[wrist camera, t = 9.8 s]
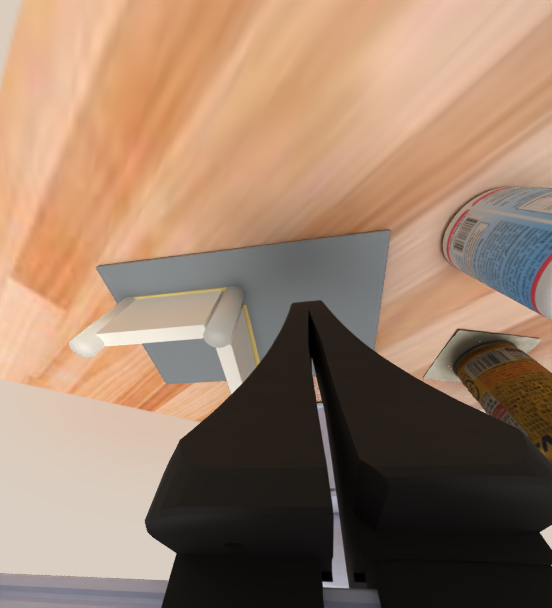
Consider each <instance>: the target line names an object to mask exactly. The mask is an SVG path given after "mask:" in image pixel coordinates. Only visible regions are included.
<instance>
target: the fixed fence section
mask: <svg viewBox="0 0 552 608" xmlns="http://www.w3.org/2000/svg"><path fill="white" fill-rule="evenodd" d="M244 297H245V293H244V291H243V290H242V289H241V288H240V287H238V286H235V285H232V286H229V287H228V288H227V289H226V290H225V292H224V294H223V291H222V290H219V291H209V292H200V293H190V294H181V295H171V296H161V297H152V298H142V299H135V298H133V297H126V298H125V299H123V300H122V301H121V302H119V303H118V304H117V305H116V306H114V307H113V308H112V309H110V310H109V311H108V312H107V313H105V314H104V315H103V316H102V317H100V318H99V319H98V320H96V321H95V322H94V323H93V324H91V325H90V326H89V327H87V328H86V329H85V330H84V331H82V332H81V333H80V334H79V335H77V336H76V337H75V338H73V339H72V340H71V341H70V342H69V346H70V348H71V349H72V351H74V352H75V353H76V354H78V355H80V356H82V357H87V358H91V357H94V356H95V355H96V354H97V353H98V352H99V351H100V350H101V349H102V348H103V347H105V346H116V345H128V344H140V343H153V342H165V341H177V340H190V339H202V338H204V340H205V342H206V343H207V344H208V345H210V346H212V347H216V348H222V347H225V346H227V345H228V344H229V342H230V339H231V336H232V333H233V330H234V327H235V324H236V321H237V318H238V315H239V312H240V309H241V306H242V303H243V300H244Z"/></svg>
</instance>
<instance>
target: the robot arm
mask: <svg viewBox="0 0 552 608" xmlns="http://www.w3.org/2000/svg"><path fill="white" fill-rule="evenodd" d="M312 360H313V365H314V369H315V373H316V377H317V382H318V386H319V390H320V394H321V398H322V403H317V402H316V396H315V389H314V383H313V376H312ZM145 524H146V528H147V532H148V533H149V534H150V535H151V536H152V537H153V538H155V539H156V540H158V541H159V542H161V543H162V544H164V545H165V546H167V547H168V548H170V549H171V550H173V551H174V552H176V553H177V554H176V557H175V561H174V564H173V568H172V572H171V575H170V579H169V581H167V580H144V579H143V580H142V579H120V578H97V577H73V576H50V575H26V574H4V573H0V608H552V566H551V565H552V550H551V548H550V547H549V545H548V544H547V543H546V541H545V540H544V538H543V537H542V535H541V534H540V533H539V532H541V531H542V530H544V529H546V528H547V527H549V526H550V525H552V463H551V462H550V461H549V460H548V459H547V458H546V457H545V455H544V454H543V453H542V452H541V451H540V450H539V449H538V448H537V447H536V446H535V445H534V444H533V443H532V442H531V441H530V440H529V439H528V438H527V437H526V436H525V435H524V434H523V433H522V432H521V431H520V430H519V429H518V428H516V427H514V426H512V425H510V424H507V423H505V422H503V421H501V420H499V419H497V418H495V417H492V416H490V415H488V414H486V413H484V412H482V411H480V410H477V409H475V408H473V407H471V406H469V405H467V404H465V403H462V402H460V401H458V400H456V399H454V398H452V397H450V396H449V395H447V394H445V393H443V392H441V391H439V390H437V389H435V388H433V387H431V386H430V385H428V384H426V383H424V382H422V381H421V380H419V379H417V378H415V377H414V376H412V375H410V374H409V373H407V372H405V371H404V370H402V369H400V368H399V367H397V366H396V365H394V364H392V363H391V362H389V361H388V360H386V359H385V358H383V357H382V356H380V355H379V354H378V353H376V352H375V351H374V350H372V349H371V348H370V347H368V346H367V345H366V344H365V343H363V342H362V341H361V340H360V339H359V338H357V337H356V336H355V335H354V334H353V333H352V332H351V331H350V330H349V329H347V328H346V327H345V326H344V325H343V324H342V323H341V322H340V321H339V320H338V319H337V317H336V316H335V315H334V314H333V313H332V312H331V311H330V310H329V309H328V307H327V306H326V305H325V304H324V302H323V301H321V300H316V301H305V302H295V303H292V304H291V305H290V310H289V313H288V315H287V318H286V320H285V322H284V324H283V326H282V328H281V330H280V332H279V334H278V336H277V337H276V339H275V341H274V342H273V344H272V346H271V347H270V349H269V350H268V352H267V353H266V355H265V356H264V357H263V359H262V360H261V362H260V363H259V364H258V365H257V367H256V368H255V369H254V370H253V371H252V373H251V374H250V375H249V376H248V377H247V379H246V380H245V381H244V382H243V383H242V384H241V385H240V386H239V387H238V388H237V389H236V390H235V391H234V392H233V393H232V394H231V395H230V396H229V397H228V398H227V399H226V400H225V401H224V402H223V403H222V404H221V405H220V406H219V407H218V408H217V409H216V410H215V411H214V412H213V413H211V414H210V415H209V416H208V417H207V418H206V419H204V420H203V421H202V422H201V423H200V424H199V425H197V426H196V427H195V428H194V429H193V430H192V431H190V432H189V433H188V434H187V435H186V436H184V437H183V438H182V439H180V441H179V443H178V445H177V447H176V449H175V451H174V453H173V455H172V457H171V459H170V461H169V463H168V465H167V468H166V470H165V472H164V474H163V477H162V479H161V482H160V484H159V487H158V489H157V492H156V494H155V497H154V499H153V501H152V504H151V507H150V509H149V512H148V514H147V516H146V519H145Z"/></svg>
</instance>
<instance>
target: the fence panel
mask: <svg viewBox="0 0 552 608" xmlns="http://www.w3.org/2000/svg"><path fill="white" fill-rule="evenodd" d="M216 350H217V353H218V356H219V359H220V362H221V365H222V368H223V371H224V374H225V377H226V380H227V383H228V386H229V388H230V391H231V394H232V393H233V392H234V391H235V390H236V389H237V388H238V387H239V386H240V385H241V384H242V383H243V382H244V381H245V380H246V379H247V377H248V376H249V375H250V374H251V373H252V371H253V370H254V369H255V368H256V364H255V359H254V355H253V350H252V346H251V341H250V337H249V332H248V328H247V323H246V319H245V314H244V310H243V307H241V309H240V312H239V315H238V318H237V321H236V324H235V327H234V330H233V333H232V336H231V339H230V342H229V344H228V345H227V346H225V347H222V348H216Z"/></svg>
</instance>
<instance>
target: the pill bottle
mask: <svg viewBox="0 0 552 608" xmlns="http://www.w3.org/2000/svg"><path fill="white" fill-rule="evenodd" d="M443 252H444V255H445V257H446V259H447V260H448V262H449V263H450V264H451V265H453V266H454V267H456V268H457V269H459V270H461V271H462V272H464V273H466V274H468V275H469V276H471V277H473V278H475V279H477V280H479V281H480V282H482V283H484V284H486V285H487V286H489V287H491V288H493V289H495V290H496V291H498V292H500V293H502V294H504V295H506V296H508V297H509V298H511V299H513V300H515V301H517V302H518V303H520V304H522V305H524V306H526V307H528V308H529V309H531V310H533V311H535V312H537V313H539V314H540V315H542V316H544V317H545V318H548V319H550V320H552V188H537V187H502V188H497V189H493V190H490V191H488V192H486V193H483V194H481V195H480V196H478V197H476V198H475V199H473V200H472V201H470V202H469V203H468V204H466V205H465V206H464V207H463V208H462V209H461V210H460V211H459V212H458V213H457V214H456V215H455V217H454V218H453V219H452V221H451V223H450V224H449V226H448V228H447V230H446V232H445V235H444V239H443Z"/></svg>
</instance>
